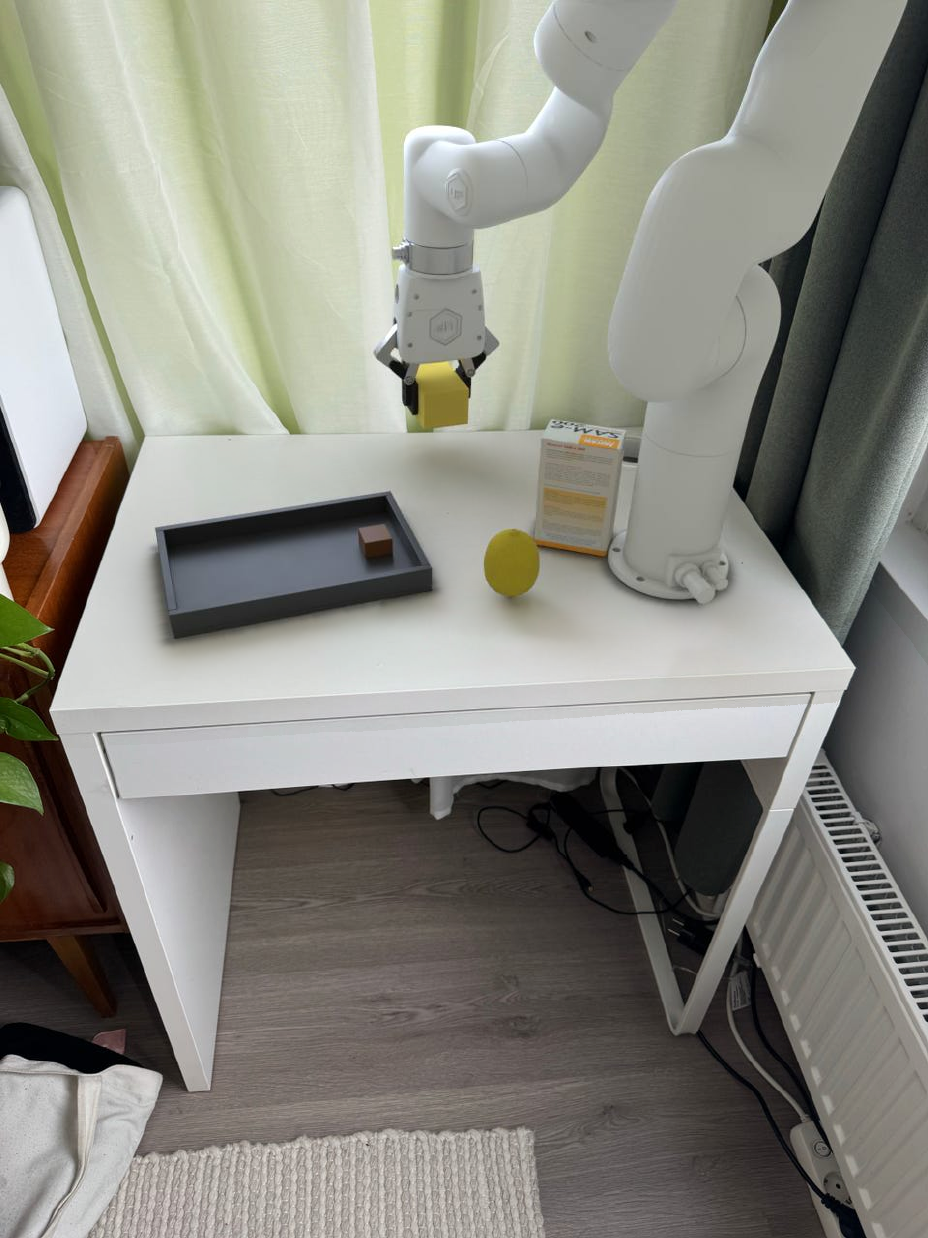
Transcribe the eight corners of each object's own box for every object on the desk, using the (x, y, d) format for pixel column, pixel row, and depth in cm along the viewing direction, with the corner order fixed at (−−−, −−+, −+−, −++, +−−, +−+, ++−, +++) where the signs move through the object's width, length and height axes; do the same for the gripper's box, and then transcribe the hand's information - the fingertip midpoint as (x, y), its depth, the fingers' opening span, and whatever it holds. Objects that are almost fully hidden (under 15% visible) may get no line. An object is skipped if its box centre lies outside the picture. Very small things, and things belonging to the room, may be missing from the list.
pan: (432, 590, 94) (432, 568, 93) (174, 638, 88) (168, 615, 86) (391, 511, 106) (390, 490, 104) (159, 549, 99) (154, 527, 97)
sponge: (467, 423, 111) (469, 388, 108) (424, 429, 110) (424, 394, 107) (446, 395, 117) (447, 361, 114) (405, 400, 115) (404, 366, 113)
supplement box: (613, 535, 103) (629, 428, 95) (606, 559, 100) (622, 450, 91) (541, 522, 105) (551, 416, 97) (531, 544, 101) (540, 436, 93)
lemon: (521, 619, 91) (527, 552, 86) (472, 601, 93) (475, 535, 88) (545, 590, 95) (552, 524, 90) (498, 573, 97) (501, 508, 92)
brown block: (393, 554, 98) (392, 538, 97) (365, 558, 98) (364, 543, 96) (385, 539, 101) (385, 523, 99) (358, 543, 100) (357, 527, 98)
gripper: (371, 272, 96) (375, 430, 108) (524, 259, 101) (513, 412, 112) (353, 249, 102) (360, 402, 113) (499, 238, 106) (491, 386, 118)
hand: (436, 405), depth 113 cm, fingers closed on sponge, 5 cm apart
